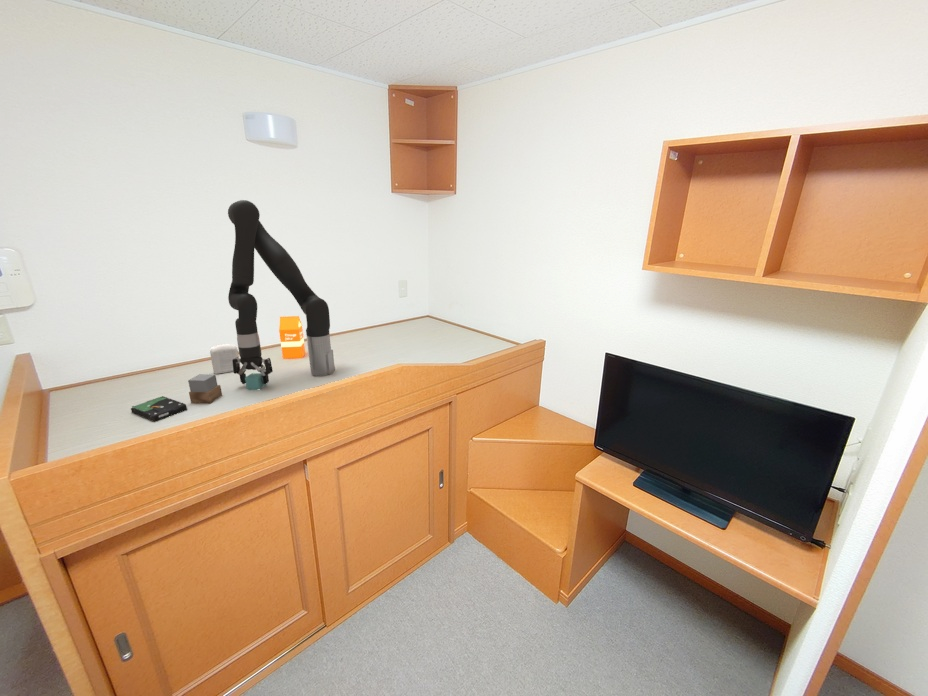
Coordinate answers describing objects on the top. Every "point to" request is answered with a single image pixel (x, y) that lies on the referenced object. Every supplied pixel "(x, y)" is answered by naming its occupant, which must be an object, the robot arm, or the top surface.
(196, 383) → the slate block
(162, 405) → the disk drive
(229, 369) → the photo printer
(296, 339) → the orange juice
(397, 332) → the top surface
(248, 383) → the teal block
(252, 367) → the robot arm
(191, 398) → the walnut base
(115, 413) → the top surface
